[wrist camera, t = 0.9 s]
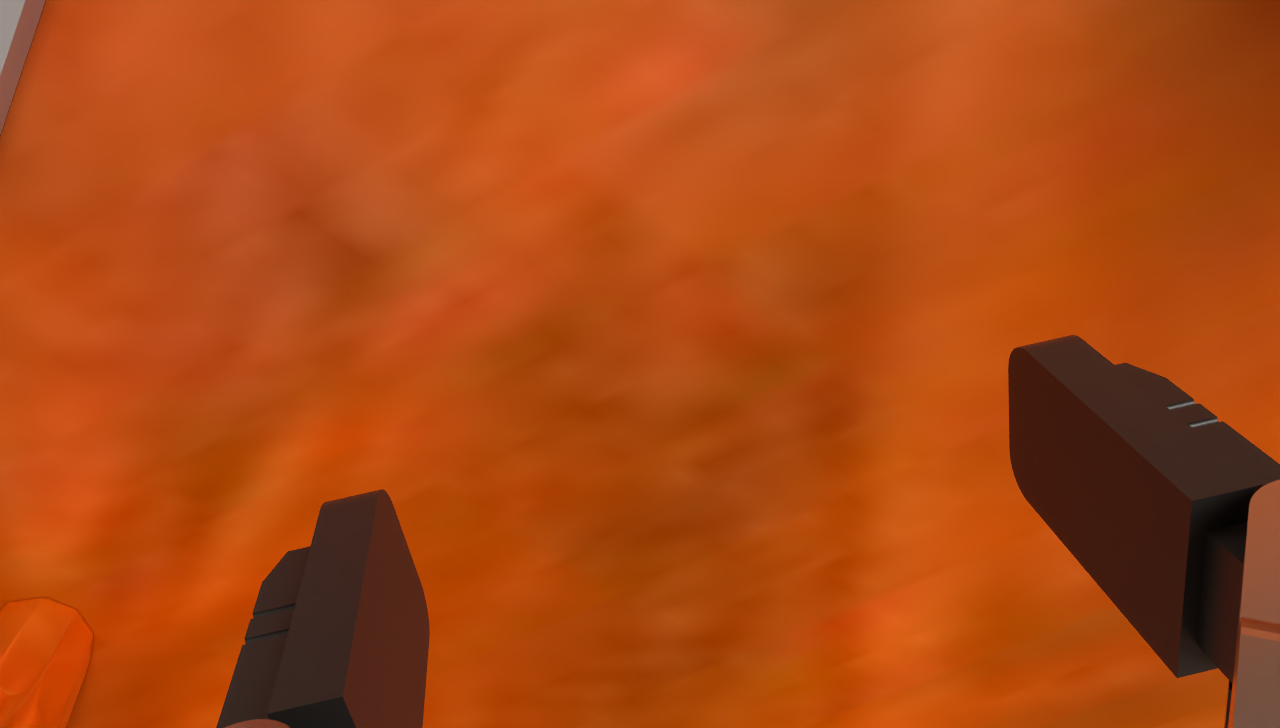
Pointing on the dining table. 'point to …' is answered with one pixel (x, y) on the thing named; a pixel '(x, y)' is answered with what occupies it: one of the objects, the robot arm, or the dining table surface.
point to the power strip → (15, 45)
